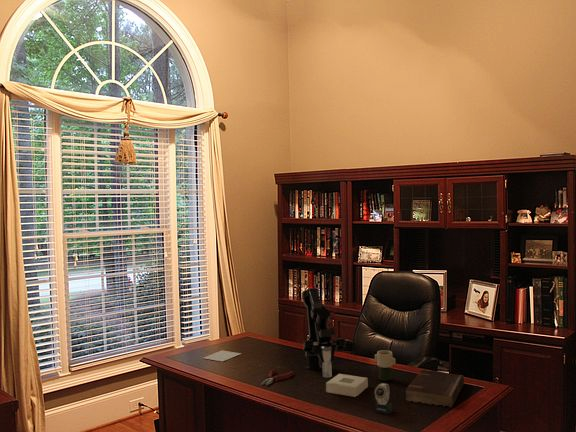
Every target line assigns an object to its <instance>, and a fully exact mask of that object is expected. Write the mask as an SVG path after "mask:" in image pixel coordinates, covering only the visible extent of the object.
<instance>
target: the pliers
mask: <svg viewBox="0 0 576 432" xmlns="http://www.w3.org/2000/svg"><path fill="white" fill-rule="evenodd" d="M276 373H277V369H276V368H273V369H271V370H270V371H269V373H268V375H267V376H266V378H265V380H263V381H262V382H261V383H260V386H262V385H265V386H268V385H271V384H272V383H273V382H275V383H278V381H282V380H287V379H289V378H291V377H293V376H294V372H293V370H291V371H289V372H287V373H284V374H280V375H274V374H276ZM273 375H274V376H273Z"/></svg>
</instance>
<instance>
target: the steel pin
mask: <svg viewBox="0 0 576 432" xmlns="http://www.w3.org/2000/svg"><path fill="white" fill-rule="evenodd" d="M331 349H332V346H329V345H324V346H321V350H322V358H323V363H322V362H321V363H322V364H321V366H322V368H321V369H322V377H323V378H325V379H326V378H327V379H328V378H331V377H333V375H332V373H333V371H332V367H333V366H332V361H331Z"/></svg>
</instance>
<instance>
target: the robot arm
mask: <svg viewBox="0 0 576 432" xmlns="http://www.w3.org/2000/svg"><path fill="white" fill-rule="evenodd" d="M301 301H302V303H303V305H304V307H305V308H306V314H307V325H308V338H307V340H306V339H305V340H304V341H303V348H302V349H303V352H304V353H305V354H304V355H305V357H306V358H308V366H306V368H305V369H306V370H312V371H313V370H314V371H319V370H320V369H322V365H321V363H323V358H322V350H321V346H324V345H329V346H332V349H331V363H333V362H334V358H335V357H334V356H335V353H336V352H337V351H339V350H346V346H347V341H346V340H347V339H345V338H344V337H340V338H336V340H335V341H331V340H332V336H335V335H336V329H335V327H330V329H329V326H328V324H329V322H330V317H331V312H330V310H329V309H327V308H326V305H325V304H324V303H321V299H320V291H319V289H318V288H316V287H312V288H310V287H309V288H307V289H305V290H303V291H302V292H301Z"/></svg>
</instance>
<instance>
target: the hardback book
mask: <svg viewBox="0 0 576 432" xmlns="http://www.w3.org/2000/svg"><path fill="white" fill-rule="evenodd" d="M464 384H465V377H464V375H463V374H458V373H457V374H455V373H450V372H449V373H448V372H440V371H435V370H428V369H427V370H426V369H421V370H420V371H419V373H418V374H417V375H416V377H414V379H413V380H412V381H411V382H410V384H408V386H407V387H406V389H405V401H406V400H407V401H406V402H411V401H413V403H418V402H421V403H420V404H425V403H426V405H432V404H434V405H433V406H438V405H443V406H442V407H445V406H449V407H448V408H452V407H453V406H454V404H455V403H456V400H457V398H458V396H459V395H458V394H460V393H459V392H461V391H462V388H463V386H465V385H464Z"/></svg>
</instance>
